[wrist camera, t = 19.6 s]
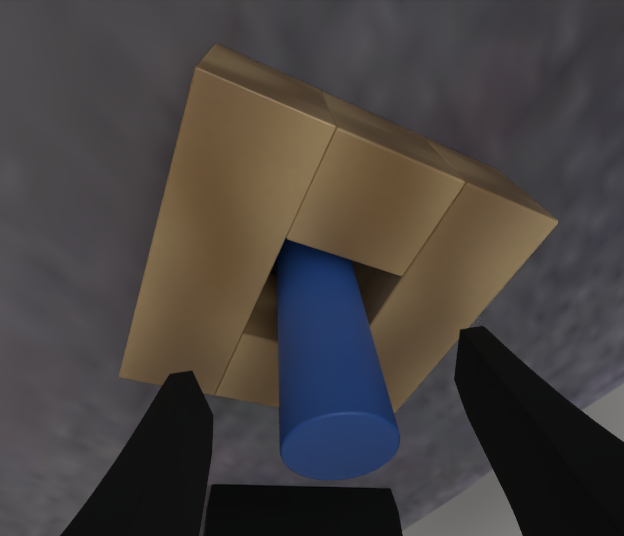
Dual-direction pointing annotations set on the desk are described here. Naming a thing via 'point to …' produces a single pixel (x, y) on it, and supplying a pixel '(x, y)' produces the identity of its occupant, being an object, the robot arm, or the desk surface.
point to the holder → (315, 232)
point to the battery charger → (301, 511)
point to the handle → (328, 370)
